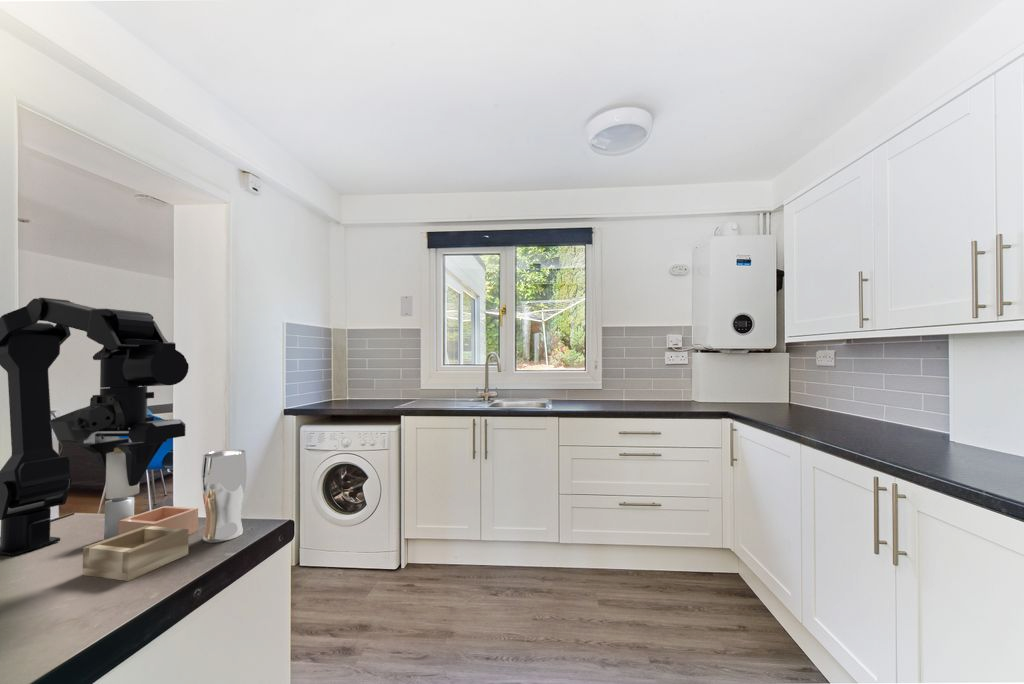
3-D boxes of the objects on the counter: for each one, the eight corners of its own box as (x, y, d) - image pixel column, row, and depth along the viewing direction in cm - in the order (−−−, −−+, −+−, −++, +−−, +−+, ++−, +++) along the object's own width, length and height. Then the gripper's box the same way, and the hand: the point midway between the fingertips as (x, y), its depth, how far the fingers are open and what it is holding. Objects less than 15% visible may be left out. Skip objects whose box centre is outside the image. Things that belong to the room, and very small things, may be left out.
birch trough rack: (82, 574, 65) (83, 547, 65) (145, 549, 74) (146, 525, 74) (128, 580, 63) (129, 552, 63) (188, 554, 71) (188, 529, 72)
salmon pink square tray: (118, 545, 76) (118, 520, 76) (164, 528, 83) (165, 505, 84) (153, 548, 74) (154, 523, 74) (197, 531, 82) (198, 508, 82)
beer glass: (223, 545, 75) (224, 457, 76) (189, 542, 76) (191, 456, 77) (254, 530, 82) (255, 449, 82) (223, 527, 83) (224, 448, 84)
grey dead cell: (97, 541, 77) (99, 498, 78) (122, 533, 81) (123, 492, 82) (114, 543, 76) (116, 500, 77) (139, 534, 80) (140, 493, 81)
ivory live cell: (98, 498, 68) (99, 449, 68) (127, 491, 72) (127, 445, 72) (118, 499, 67) (118, 449, 67) (145, 491, 71) (146, 445, 71)
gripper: (17, 392, 65) (14, 498, 64) (111, 388, 60) (109, 503, 59) (103, 387, 75) (102, 479, 74) (188, 384, 71) (188, 481, 70)
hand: (123, 485), depth 69 cm, fingers closed on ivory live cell, 4 cm apart
